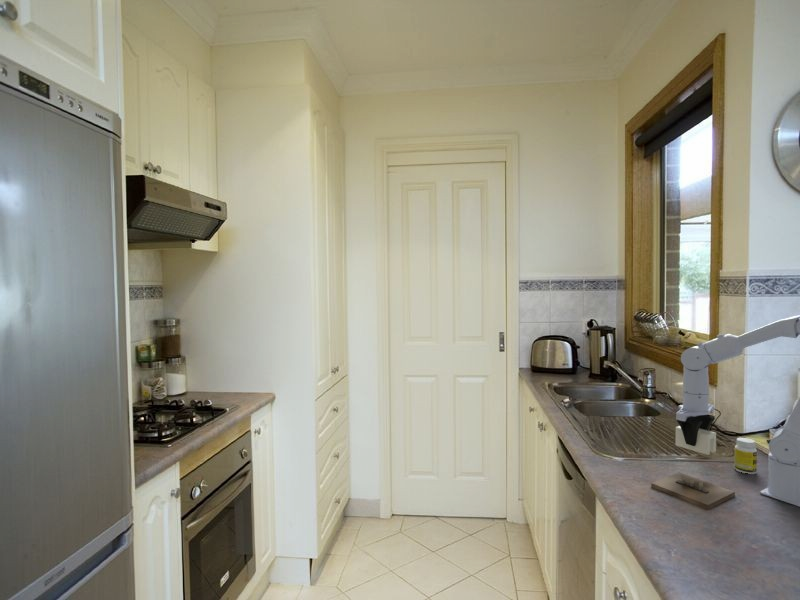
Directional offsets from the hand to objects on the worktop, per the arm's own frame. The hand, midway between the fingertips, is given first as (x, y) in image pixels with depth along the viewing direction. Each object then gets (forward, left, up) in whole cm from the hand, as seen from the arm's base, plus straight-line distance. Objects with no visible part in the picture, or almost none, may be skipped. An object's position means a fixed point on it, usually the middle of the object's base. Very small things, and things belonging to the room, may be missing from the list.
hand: (695, 443), depth 119 cm
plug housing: (0, 0, -1) cm, 1 cm away
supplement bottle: (-6, -13, -8) cm, 17 cm away
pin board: (-5, +11, -8) cm, 15 cm away
